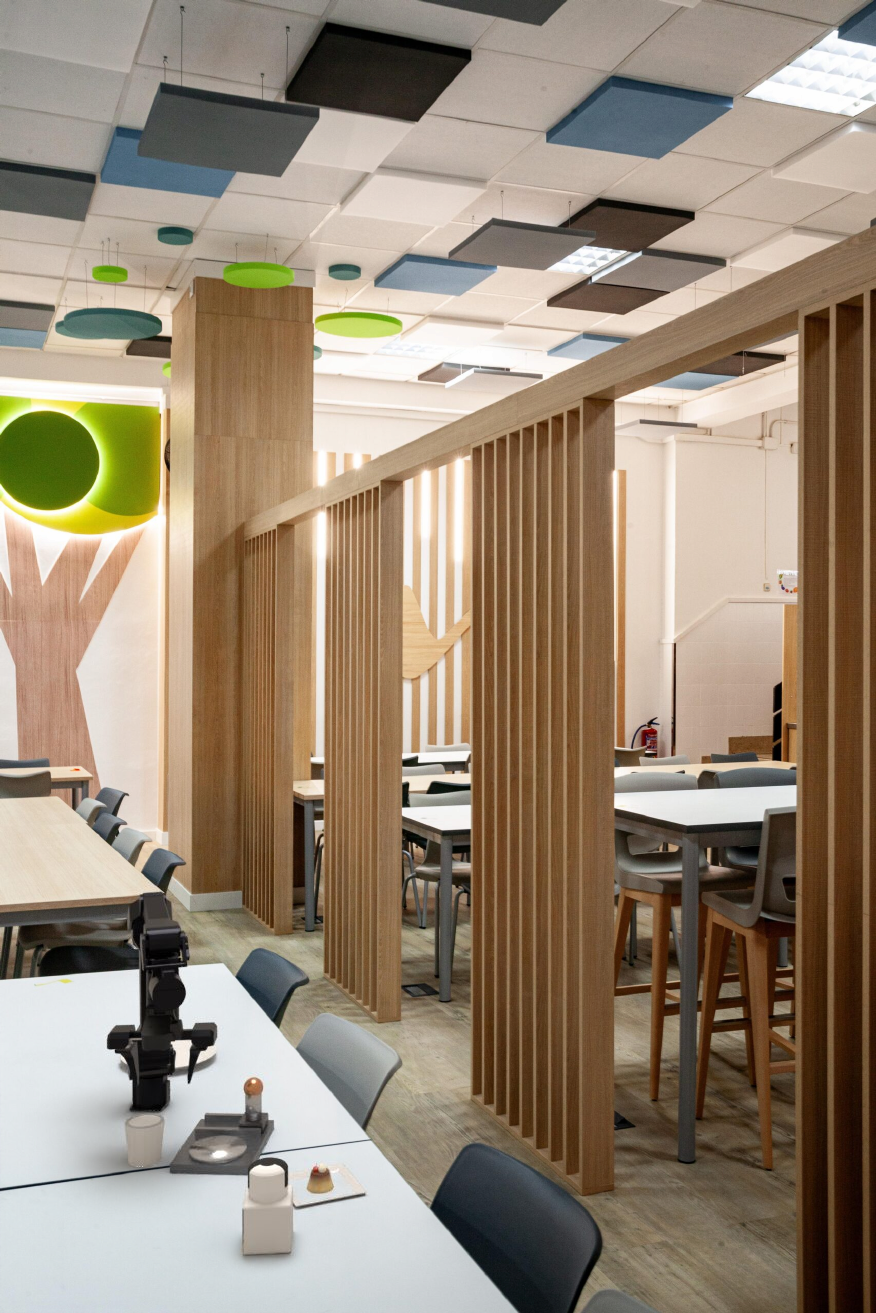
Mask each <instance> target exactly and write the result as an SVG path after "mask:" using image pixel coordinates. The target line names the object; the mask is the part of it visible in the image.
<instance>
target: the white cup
mask: <svg viewBox="0 0 876 1313" xmlns="http://www.w3.org/2000/svg"><path fill="white" fill-rule="evenodd" d="M164 1128H165V1117H164V1116H163V1115H161V1114H157V1113H143V1114H142V1113H141V1114H137V1115H133V1116H130V1117H129V1118H127V1119H126V1120H125V1121H124V1132H125V1141H126V1152H127V1153H126V1154H127V1162H128V1165H130V1164H131V1165H133V1166H132V1167H135V1166H138V1167H137V1168H146V1167H150V1166H153V1164H154V1165H156V1164H158V1163H159V1162H160V1161H161V1160H162V1154H163V1152H162V1151H163V1142H164V1141H163V1140H164V1133H165V1132H164V1130H165V1129H164ZM131 1165H130V1166H131ZM139 1166H140V1167H139ZM142 1166H143V1167H142ZM145 1166H146V1167H145Z"/></svg>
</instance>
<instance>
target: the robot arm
mask: <svg viewBox="0 0 876 1313" xmlns="http://www.w3.org/2000/svg"><path fill="white" fill-rule="evenodd" d="M173 918H174V917H173V905H172V901H170V899H168V898H167V892H163V891H152V892H151V891H150V892H143V893H141V894H139V895H138V899H136V900H135V901H133V902H131V903H129V905H128V908H127V918H126V920H127V921H126V922H127V926H126V927H127V931H130V938H131V939H132V941H133V943H134V944H135V945H136V947H137V949H138V971H139V976H138V977H139V980H138V981H139V983H138V984H139V988H138V989H139V1025H138V1026H137V1029H136V1026H135V1024H116V1025H114V1026H113V1027H112V1029H111V1030H110V1031H109V1033H108V1034H107V1036H106V1049H107V1050H114V1054H116V1055H118V1054H119V1055H120V1056H121V1055H122V1056H123V1057H124V1059H125V1061H126V1062H127V1064H126V1065H127V1075H128V1076H127V1077H128V1080H129V1081H132V1082H131V1084H132V1086H131V1091H132V1093H131V1094H132V1101H131V1102H132V1103H131V1106H129V1110H128V1111H130V1112H162V1111H163V1109H165V1107H167V1105H168V1104H169V1102H170V1101H171V1080H170V1079H168V1078H169V1077H168V1076H173V1073H176V1071H175V1059H176V1051H175V1050H174V1048H173V1045H172V1044H171V1042H175V1041H177V1040H191V1043H192V1045H191V1047H190V1057H189V1066H188V1069H187V1076H186V1077H187V1085H190V1084H191V1081H192V1078H193V1077H194V1076H193V1075H194V1072H195V1069H196V1066H197V1065H196V1063H197V1060H198V1057H199V1054H200V1052H201V1051H206V1050H207V1048H208V1047H210V1046H214V1045H216V1044H215V1043H216V1041H217V1039H218V1025H217V1024H216V1023H215V1022H213V1021H211V1022H207V1021H206V1022H195V1023H194V1025H193V1026H192V1027H193V1028H184V1025H183V1020H182V1019H181V1018H180V1006H182V1005H183V1003H184V1001H185V999H186V996H187V990H186V987H185V984H184V982H183V980H182V978H181V975H180V969H181V968H188V961H190V958H191V955H190V948H189V939H188V938H189V937H188V936H187V934H186V931H185V930H182V929H181V928H182V927H181V925H180V924H179V922H178V921H176V920H173Z"/></svg>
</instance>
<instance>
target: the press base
mask: <svg viewBox="0 0 876 1313" xmlns="http://www.w3.org/2000/svg"><path fill="white" fill-rule="evenodd" d="M243 1114H244V1113H233V1112H231V1113H229V1112H226V1113H222V1112H219V1113H217V1112H205V1113H204V1118H200V1120H199V1121H198V1123H197V1124H196V1125H195V1127H194V1128H193V1130H192V1131H191V1132H190V1134H189V1136H187V1139H185V1141H184V1142H183V1144H182V1145H181V1147H180V1149H179V1150H178V1151H177V1153H176V1155H174V1157H173V1158H172V1160H171V1162H170V1163H169V1173H170V1174H194V1175H195V1174H203V1175H204V1174H205V1175H207V1174H208V1175H213V1174H214V1175H247V1176H248V1167H249V1166H250V1164H251V1163H252V1162H254V1161H256V1160H259V1159H260V1156H261V1155H262V1152H263V1151H262V1150H264V1148H265V1147H266V1145H267V1143H268V1141H269V1139H270V1137H271V1135H272V1133H273V1131H274V1128H275V1120H274V1119H268V1123H267V1125H266V1126H265V1128H264V1130H263V1132H261V1128H239V1121H240V1119H241V1118H242V1116H243ZM264 1146H265V1147H264Z"/></svg>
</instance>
